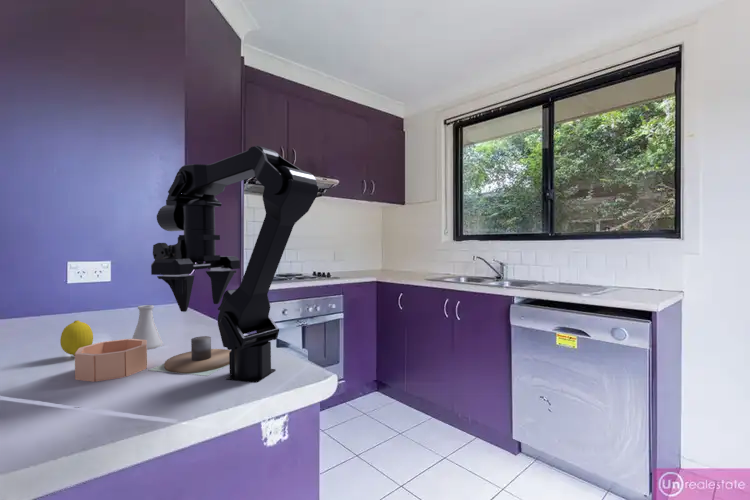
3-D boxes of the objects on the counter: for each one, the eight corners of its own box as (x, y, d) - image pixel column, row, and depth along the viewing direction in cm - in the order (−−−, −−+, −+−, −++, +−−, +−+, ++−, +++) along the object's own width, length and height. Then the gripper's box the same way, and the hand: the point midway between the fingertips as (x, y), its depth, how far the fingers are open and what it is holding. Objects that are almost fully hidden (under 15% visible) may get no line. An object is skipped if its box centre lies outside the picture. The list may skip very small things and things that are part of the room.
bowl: (160, 365, 74) (159, 340, 74) (109, 385, 63) (108, 356, 63) (117, 361, 76) (116, 337, 76) (61, 380, 66) (61, 352, 66)
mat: (248, 357, 79) (248, 354, 79) (206, 378, 66) (206, 375, 66) (197, 352, 82) (197, 350, 82) (148, 372, 70) (148, 370, 70)
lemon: (75, 361, 77) (74, 323, 77) (53, 360, 78) (53, 322, 78) (100, 354, 82) (99, 318, 82) (79, 352, 83) (78, 317, 83)
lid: (248, 354, 79) (248, 332, 79) (206, 375, 66) (206, 349, 66) (197, 350, 82) (197, 329, 82) (148, 370, 70) (147, 344, 70)
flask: (170, 347, 88) (169, 305, 87) (137, 354, 81) (136, 309, 81) (154, 342, 91) (153, 302, 91) (121, 350, 85) (121, 307, 85)
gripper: (198, 232, 85) (199, 299, 85) (125, 229, 67) (127, 314, 67) (241, 231, 82) (242, 301, 82) (176, 227, 64) (178, 317, 64)
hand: (200, 307), depth 74 cm, fingers open, 9 cm apart
